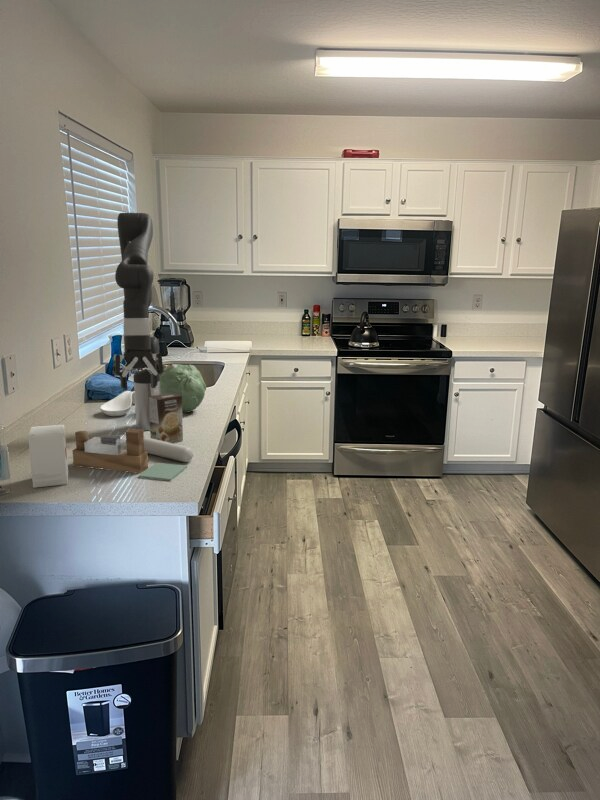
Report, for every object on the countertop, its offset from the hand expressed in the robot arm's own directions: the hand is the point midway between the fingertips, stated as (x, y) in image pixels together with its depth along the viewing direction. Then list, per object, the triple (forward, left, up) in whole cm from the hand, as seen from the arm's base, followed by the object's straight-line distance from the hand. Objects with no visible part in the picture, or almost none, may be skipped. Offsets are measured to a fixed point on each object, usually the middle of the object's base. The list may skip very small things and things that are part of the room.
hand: (139, 388), depth 172 cm
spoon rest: (-52, -37, -23) cm, 68 cm away
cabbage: (-57, -13, -23) cm, 63 cm away
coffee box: (-20, -2, -23) cm, 31 cm away
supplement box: (+21, -17, -23) cm, 35 cm away
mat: (+7, +10, -23) cm, 26 cm away
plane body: (+7, -7, -23) cm, 25 cm away
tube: (-4, +2, -21) cm, 21 cm away
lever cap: (+7, -8, -18) cm, 21 cm away
